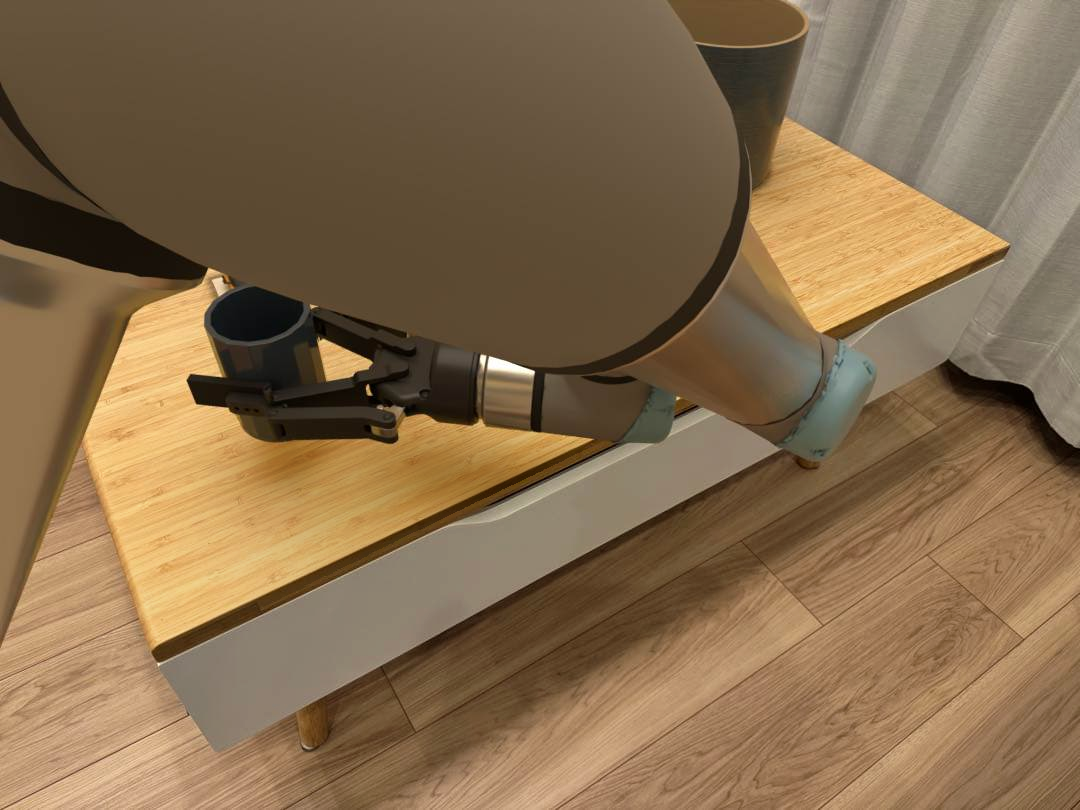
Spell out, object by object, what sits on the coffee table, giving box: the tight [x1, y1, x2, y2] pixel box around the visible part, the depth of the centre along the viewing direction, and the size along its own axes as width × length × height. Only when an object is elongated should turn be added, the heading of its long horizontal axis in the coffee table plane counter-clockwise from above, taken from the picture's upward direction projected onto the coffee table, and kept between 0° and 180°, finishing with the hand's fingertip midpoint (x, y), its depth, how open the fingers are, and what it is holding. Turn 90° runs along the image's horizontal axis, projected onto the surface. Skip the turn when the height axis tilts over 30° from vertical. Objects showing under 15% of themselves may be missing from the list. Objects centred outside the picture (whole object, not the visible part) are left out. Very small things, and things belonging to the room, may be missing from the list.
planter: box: [667, 0, 811, 190], centre depth 105 cm, size 22×22×20 cm
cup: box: [203, 284, 328, 444], centre depth 65 cm, size 8×8×11 cm
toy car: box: [211, 273, 248, 297], centre depth 87 cm, size 4×8×2 cm, turn 29°
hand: (216, 353), depth 65 cm, fingers closed on cup, 8 cm apart
